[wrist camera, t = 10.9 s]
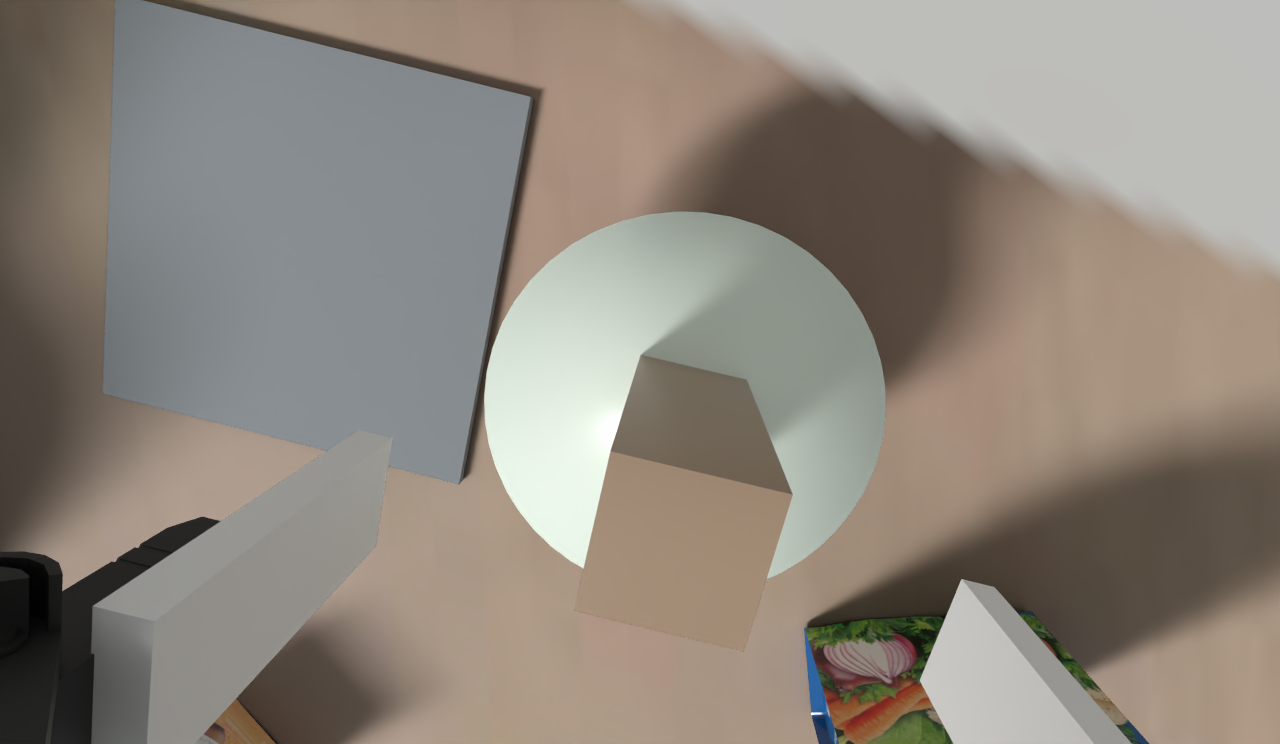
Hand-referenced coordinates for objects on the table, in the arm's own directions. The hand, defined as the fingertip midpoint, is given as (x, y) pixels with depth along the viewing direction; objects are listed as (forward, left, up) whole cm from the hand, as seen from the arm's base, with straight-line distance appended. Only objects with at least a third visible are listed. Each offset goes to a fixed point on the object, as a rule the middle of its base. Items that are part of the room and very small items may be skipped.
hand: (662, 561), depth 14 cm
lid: (0, 0, -11) cm, 11 cm away
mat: (-20, +1, -19) cm, 27 cm away
